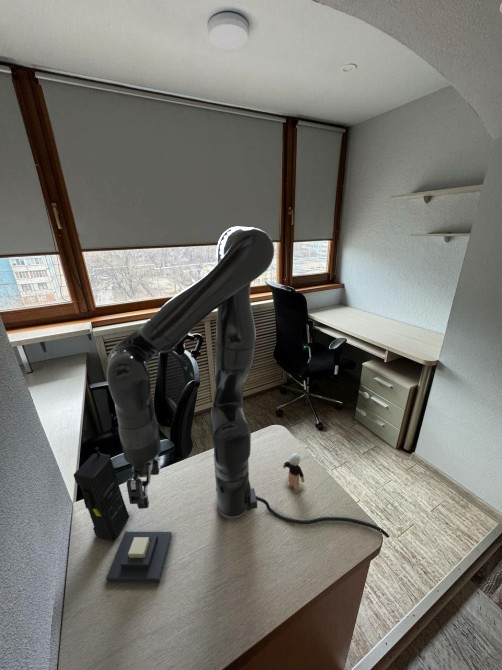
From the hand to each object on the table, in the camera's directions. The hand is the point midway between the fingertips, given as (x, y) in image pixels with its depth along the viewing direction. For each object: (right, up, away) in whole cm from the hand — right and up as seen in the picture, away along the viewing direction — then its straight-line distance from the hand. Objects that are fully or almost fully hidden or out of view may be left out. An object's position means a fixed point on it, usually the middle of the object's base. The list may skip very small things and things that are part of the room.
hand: (149, 489), depth 63 cm
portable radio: (-14, -16, +9) cm, 23 cm away
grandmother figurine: (+37, -11, +21) cm, 44 cm away
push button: (-3, -19, +3) cm, 19 cm away
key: (-3, -16, +2) cm, 16 cm away
